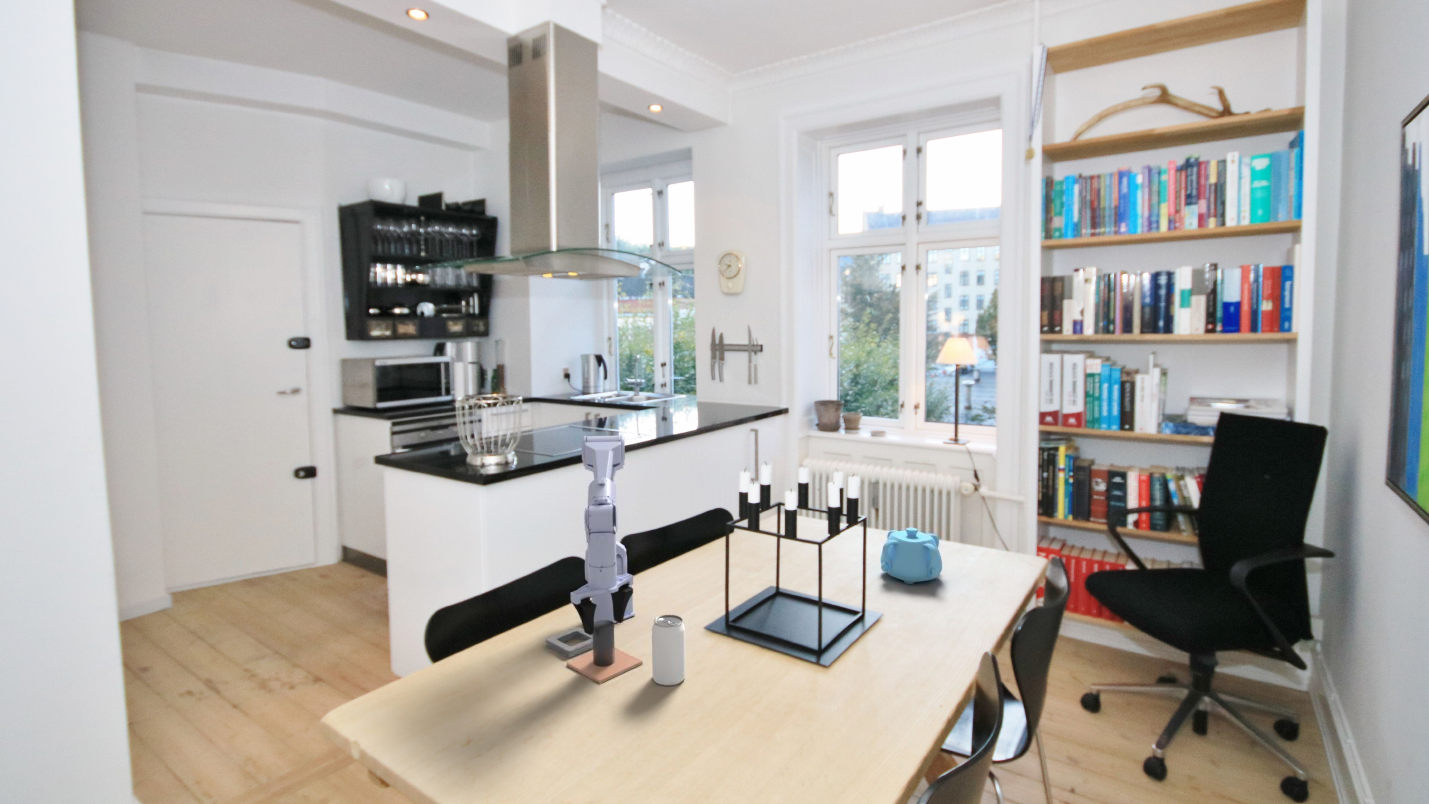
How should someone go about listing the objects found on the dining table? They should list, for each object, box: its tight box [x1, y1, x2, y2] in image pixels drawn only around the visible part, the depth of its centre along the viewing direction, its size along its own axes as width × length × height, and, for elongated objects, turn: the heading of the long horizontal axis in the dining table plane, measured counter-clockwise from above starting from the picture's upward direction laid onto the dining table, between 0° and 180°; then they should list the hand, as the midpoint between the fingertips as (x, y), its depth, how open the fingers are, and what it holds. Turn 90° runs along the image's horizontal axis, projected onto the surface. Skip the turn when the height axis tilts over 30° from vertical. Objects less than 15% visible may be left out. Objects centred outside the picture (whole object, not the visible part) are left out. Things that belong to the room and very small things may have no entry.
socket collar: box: [545, 626, 593, 659], centre depth 155 cm, size 9×9×2 cm
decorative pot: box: [880, 527, 943, 585], centre depth 195 cm, size 16×16×14 cm
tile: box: [566, 647, 643, 684], centre depth 146 cm, size 11×11×1 cm
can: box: [651, 614, 686, 687], centre depth 140 cm, size 6×6×12 cm
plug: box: [592, 620, 616, 667], centre depth 146 cm, size 4×4×8 cm
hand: (603, 626), depth 146 cm, fingers open, 7 cm apart
